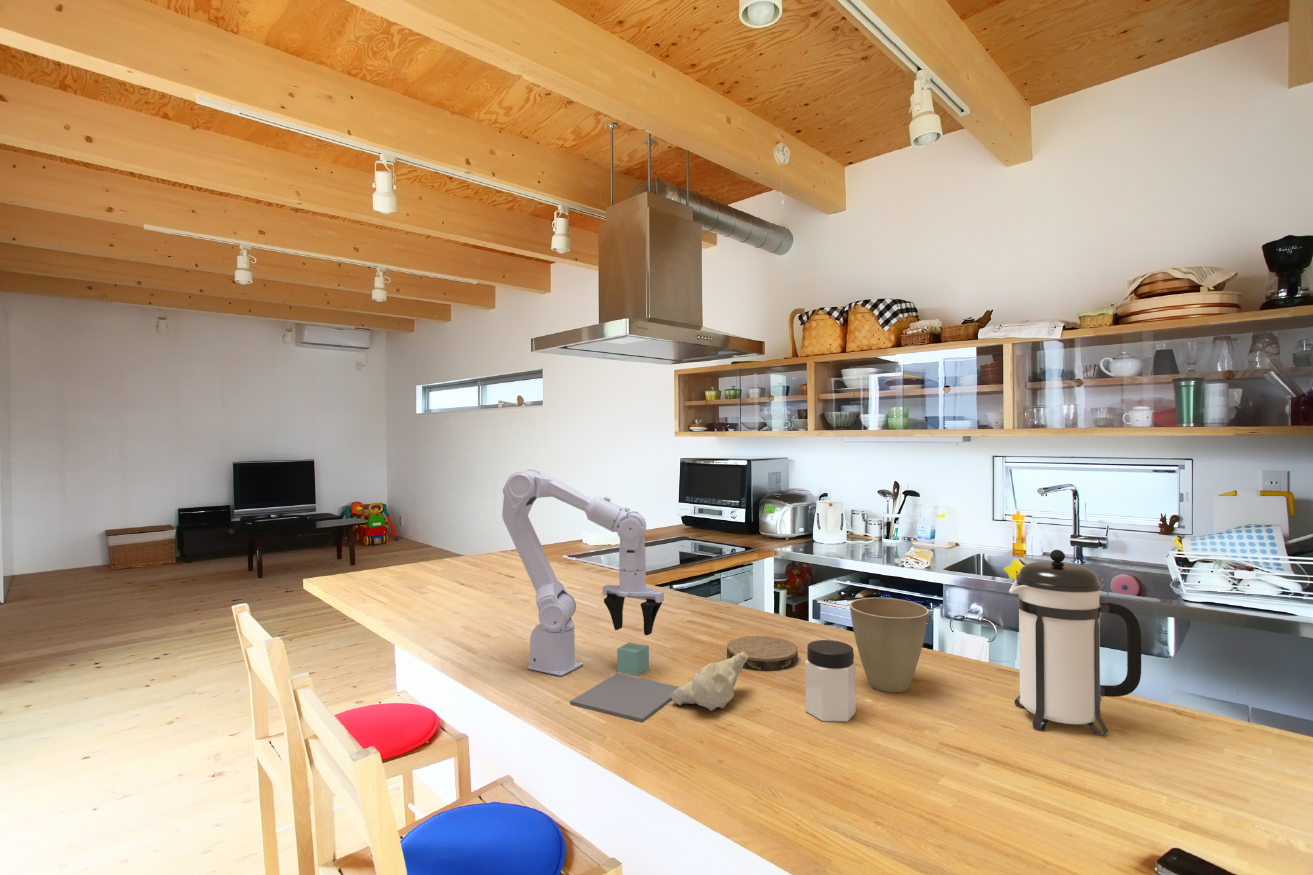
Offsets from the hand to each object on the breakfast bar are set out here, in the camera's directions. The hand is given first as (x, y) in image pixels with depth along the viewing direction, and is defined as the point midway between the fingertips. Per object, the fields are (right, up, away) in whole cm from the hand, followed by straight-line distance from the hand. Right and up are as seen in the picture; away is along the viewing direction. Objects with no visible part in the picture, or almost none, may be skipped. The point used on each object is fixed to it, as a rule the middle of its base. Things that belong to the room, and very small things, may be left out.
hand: (633, 631), depth 139 cm
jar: (+37, -8, -22) cm, 44 cm away
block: (0, -8, 0) cm, 8 cm away
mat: (0, -8, -15) cm, 17 cm away
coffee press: (+77, -8, -26) cm, 82 cm away
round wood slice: (+29, -9, +6) cm, 31 cm away
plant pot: (+52, -8, -10) cm, 53 cm away
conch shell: (+16, -8, -16) cm, 25 cm away
